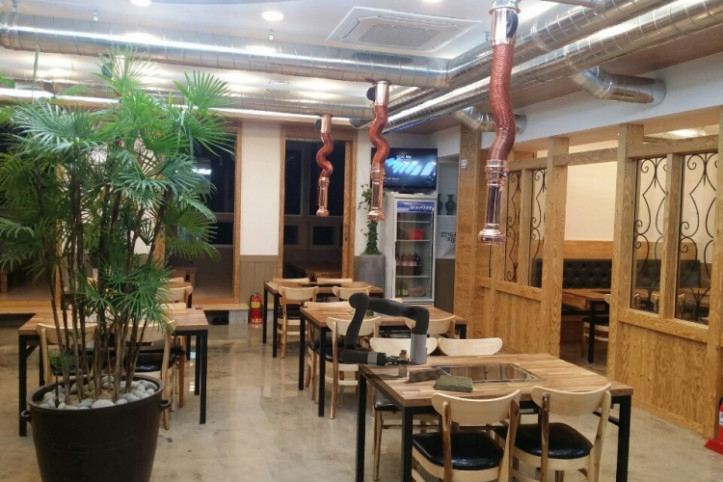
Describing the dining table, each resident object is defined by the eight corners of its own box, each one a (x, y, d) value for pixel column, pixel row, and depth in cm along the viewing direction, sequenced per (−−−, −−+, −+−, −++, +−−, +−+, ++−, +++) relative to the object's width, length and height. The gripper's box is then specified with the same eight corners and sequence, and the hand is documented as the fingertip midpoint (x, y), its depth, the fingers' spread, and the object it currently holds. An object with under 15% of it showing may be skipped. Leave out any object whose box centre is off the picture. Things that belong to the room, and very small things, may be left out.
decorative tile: (471, 383, 333) (471, 376, 333) (472, 393, 313) (473, 386, 313) (435, 380, 335) (436, 373, 335) (434, 390, 315) (435, 383, 315)
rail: (437, 376, 342) (438, 367, 341) (442, 378, 338) (443, 369, 338) (408, 380, 330) (409, 371, 330) (413, 382, 327) (414, 372, 327)
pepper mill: (403, 374, 342) (404, 349, 342) (408, 376, 339) (409, 350, 338) (396, 375, 340) (397, 349, 339) (401, 377, 336) (403, 351, 335)
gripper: (375, 354, 334) (407, 357, 331) (379, 349, 348) (410, 352, 345) (374, 368, 334) (406, 371, 332) (378, 363, 349) (409, 365, 346)
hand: (408, 361), depth 338 cm, fingers closed on pepper mill, 4 cm apart
